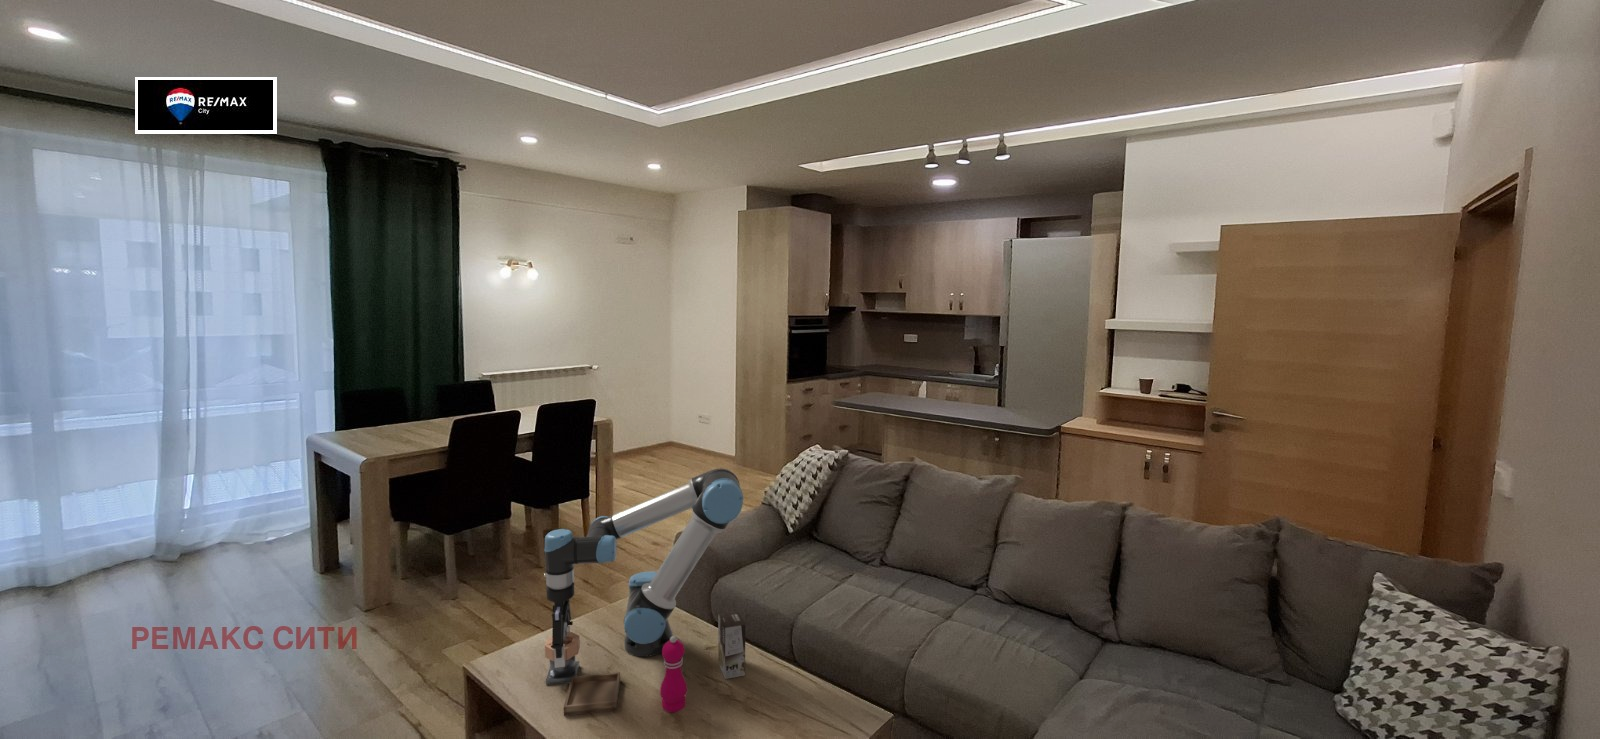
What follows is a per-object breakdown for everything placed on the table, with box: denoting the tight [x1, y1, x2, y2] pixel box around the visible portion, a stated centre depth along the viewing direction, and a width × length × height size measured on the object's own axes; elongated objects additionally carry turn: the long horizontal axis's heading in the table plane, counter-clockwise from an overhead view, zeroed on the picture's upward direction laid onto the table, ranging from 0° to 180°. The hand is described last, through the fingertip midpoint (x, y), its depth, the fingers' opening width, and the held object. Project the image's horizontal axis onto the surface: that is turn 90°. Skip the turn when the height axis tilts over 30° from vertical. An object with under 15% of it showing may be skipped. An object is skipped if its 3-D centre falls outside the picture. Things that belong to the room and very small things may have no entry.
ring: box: [544, 631, 581, 661], centre depth 185 cm, size 9×9×4 cm
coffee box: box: [717, 610, 746, 680], centre depth 189 cm, size 9×6×16 cm
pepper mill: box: [659, 635, 688, 713], centre depth 172 cm, size 7×7×20 cm
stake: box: [545, 621, 580, 686], centre depth 185 cm, size 8×8×16 cm
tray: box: [563, 671, 621, 716], centre depth 176 cm, size 13×13×2 cm
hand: (562, 656), depth 185 cm, fingers closed on ring, 9 cm apart
